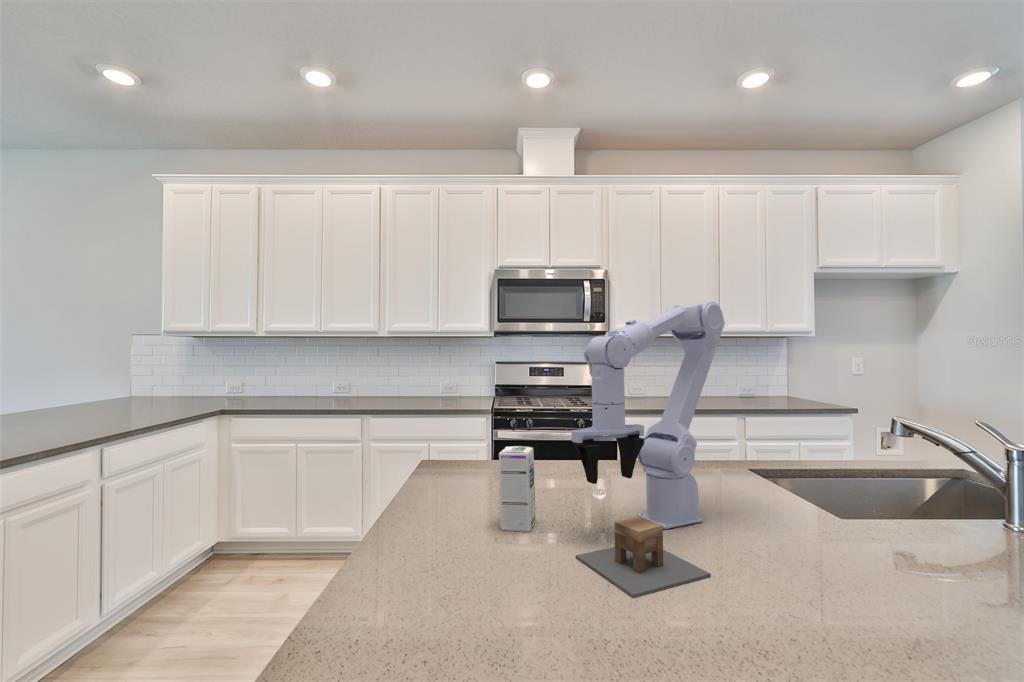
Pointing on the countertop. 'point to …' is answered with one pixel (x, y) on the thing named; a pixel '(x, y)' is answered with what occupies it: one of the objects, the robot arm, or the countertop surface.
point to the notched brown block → (639, 542)
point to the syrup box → (517, 488)
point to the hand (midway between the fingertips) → (609, 479)
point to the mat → (644, 583)
